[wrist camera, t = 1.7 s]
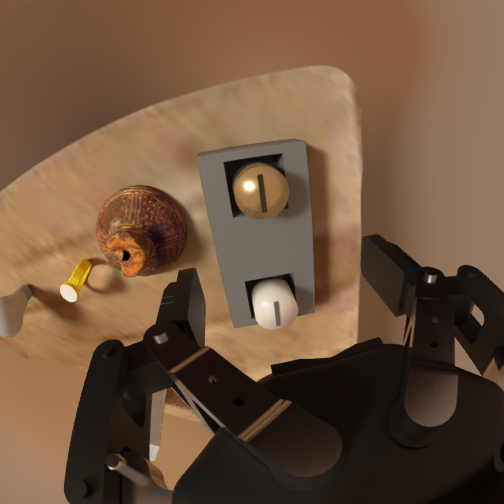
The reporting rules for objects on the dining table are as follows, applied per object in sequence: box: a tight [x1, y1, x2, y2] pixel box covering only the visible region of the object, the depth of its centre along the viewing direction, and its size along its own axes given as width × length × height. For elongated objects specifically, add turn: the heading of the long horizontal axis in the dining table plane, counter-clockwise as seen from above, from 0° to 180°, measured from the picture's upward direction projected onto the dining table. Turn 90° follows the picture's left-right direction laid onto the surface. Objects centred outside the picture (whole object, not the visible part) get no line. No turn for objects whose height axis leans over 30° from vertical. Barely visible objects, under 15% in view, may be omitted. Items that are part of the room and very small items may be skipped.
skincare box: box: [150, 389, 167, 461], centre depth 39 cm, size 8×6×15 cm
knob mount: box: [197, 139, 315, 328], centre depth 32 cm, size 22×11×4 cm, turn 8°
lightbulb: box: [0, 285, 32, 337], centre depth 28 cm, size 6×6×11 cm
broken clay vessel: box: [96, 185, 186, 277], centre depth 29 cm, size 12×12×7 cm
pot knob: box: [251, 277, 298, 330], centre depth 32 cm, size 5×5×4 cm
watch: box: [60, 259, 92, 302], centre depth 31 cm, size 6×3×6 cm, turn 140°
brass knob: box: [232, 161, 289, 219], centre depth 26 cm, size 5×5×4 cm
